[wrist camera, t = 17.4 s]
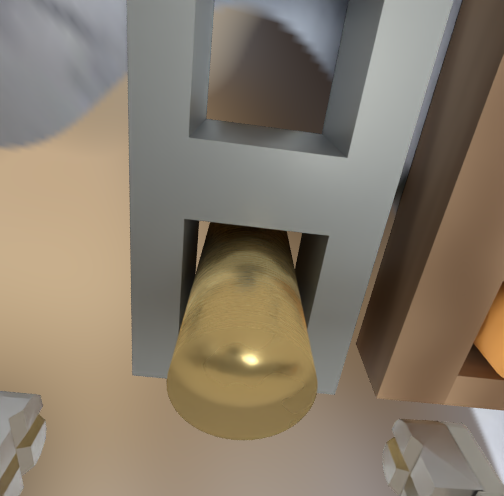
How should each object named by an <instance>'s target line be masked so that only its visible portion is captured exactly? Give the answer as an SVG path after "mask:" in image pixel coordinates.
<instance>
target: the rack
mask: <svg viewBox="0 0 504 496" xmlns="http://www.w3.org/2000/svg"><path fill="white" fill-rule="evenodd" d="M453 1H454V0H349V2H348V7H347V12H346V17H345V22H344V27H343V32H342V37H341V42H340V47H339V52H338V57H337V62H336V67H335V72H334V77H333V82H332V87H331V93H330V97H329V102H328V108H327V112H326V117H325V122H324V127H323V132H322V134H317V133H310V132H302V131H294V130H287V129H279V128H272V127H263V126H256V125H249V124H241V123H234V122H226V121H218V120H210V119H206V114H207V99H208V85H209V71H210V56H211V42H212V28H213V14H214V0H127V55H128V116H129V117H128V119H129V176H130V177H129V182H130V183H129V184H130V245H131V246H130V247H131V248H130V249H131V313H132V374H133V375H136V376H145V377H156V378H166V379H167V374H168V371H169V367H170V364H171V360H172V357H173V353H174V349H175V346H176V342H177V339H178V335H179V332H180V328H181V324H182V321H183V317H184V314H185V310H186V307H187V303H188V300H189V296H190V292H191V289H192V285H193V282H194V278H195V272H196V258H197V257H196V256H197V243H198V229H199V220H200V221H208V222H216V223H225V224H233V225H242V226H250V227H259V228H267V229H276V230H284V231H294V232H301V233H302V237H301V243H300V247H299V252H298V257H297V262H296V268H295V274H296V279H297V283H298V288H299V293H300V298H301V303H302V308H303V312H304V317H305V322H306V327H307V332H308V337H309V341H310V346H311V351H312V356H313V361H314V366H315V370H316V375H317V381H318V388H317V393H323V394H334V395H335V391H336V388H337V385H338V381H339V378H340V375H341V372H342V368H343V365H344V362H345V358H346V355H347V352H348V349H349V345H350V342H351V339H352V335H353V332H354V329H355V326H356V322H357V319H358V315H359V312H360V309H361V306H362V302H363V299H364V296H365V292H366V289H367V286H368V282H369V279H370V276H371V272H372V269H373V266H374V263H375V259H376V256H377V253H378V249H379V246H380V243H381V239H382V236H383V233H384V229H385V226H386V223H387V220H388V216H389V213H390V210H391V206H392V203H393V200H394V196H395V193H396V190H397V186H398V183H399V180H400V176H401V173H402V170H403V167H404V163H405V160H406V157H407V153H408V150H409V147H410V143H411V140H412V137H413V133H414V130H415V127H416V123H417V120H418V117H419V113H420V110H421V107H422V104H423V100H424V97H425V94H426V90H427V87H428V84H429V80H430V77H431V74H432V70H433V67H434V64H435V60H436V57H437V54H438V51H439V47H440V44H441V41H442V37H443V34H444V31H445V27H446V24H447V21H448V17H449V14H450V11H451V7H452V4H453Z"/></svg>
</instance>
